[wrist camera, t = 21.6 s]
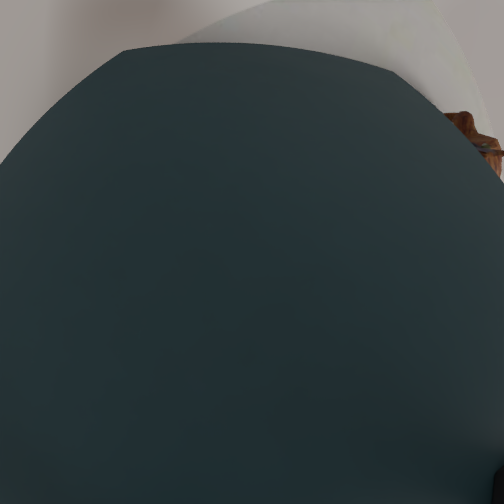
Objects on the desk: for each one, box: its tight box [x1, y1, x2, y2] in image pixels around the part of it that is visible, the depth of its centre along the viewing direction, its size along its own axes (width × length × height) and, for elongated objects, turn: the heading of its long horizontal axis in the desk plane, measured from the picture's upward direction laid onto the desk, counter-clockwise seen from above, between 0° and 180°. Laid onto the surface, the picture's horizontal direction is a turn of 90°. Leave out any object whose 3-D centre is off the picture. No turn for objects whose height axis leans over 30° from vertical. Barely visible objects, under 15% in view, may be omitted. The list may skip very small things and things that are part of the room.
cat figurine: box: [443, 111, 504, 178], centre depth 13 cm, size 18×7×14 cm, turn 101°
